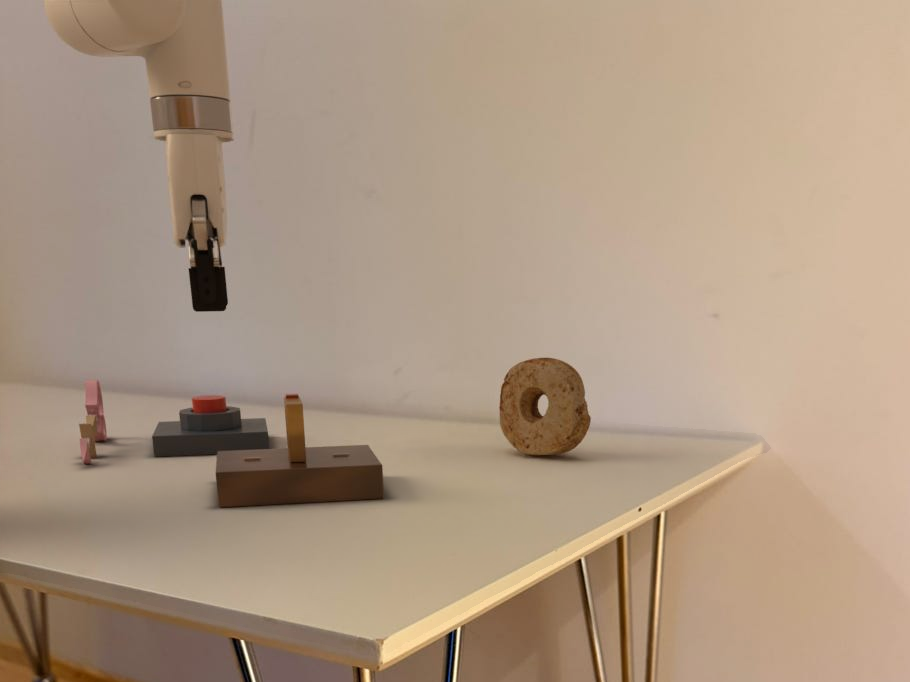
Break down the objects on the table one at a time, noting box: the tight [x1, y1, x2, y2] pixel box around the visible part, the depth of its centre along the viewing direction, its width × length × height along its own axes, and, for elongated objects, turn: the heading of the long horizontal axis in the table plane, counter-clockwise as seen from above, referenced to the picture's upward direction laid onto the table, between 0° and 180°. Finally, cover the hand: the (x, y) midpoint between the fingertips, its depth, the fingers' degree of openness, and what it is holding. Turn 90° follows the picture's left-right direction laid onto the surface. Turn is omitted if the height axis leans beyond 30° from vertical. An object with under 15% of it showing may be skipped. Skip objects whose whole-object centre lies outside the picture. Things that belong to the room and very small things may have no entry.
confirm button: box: [191, 394, 227, 413], centre depth 108 cm, size 4×4×2 cm
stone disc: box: [498, 357, 592, 456], centre depth 103 cm, size 10×4×10 cm, turn 52°
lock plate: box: [215, 444, 385, 508], centre depth 88 cm, size 14×10×3 cm
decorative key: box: [78, 379, 107, 465], centre depth 106 cm, size 7×1×20 cm
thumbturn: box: [283, 393, 307, 462], centre depth 87 cm, size 5×1×5 cm, turn 13°
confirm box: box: [151, 405, 270, 458], centre depth 109 cm, size 12×10×4 cm
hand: (211, 308), depth 102 cm, fingers open, 9 cm apart
